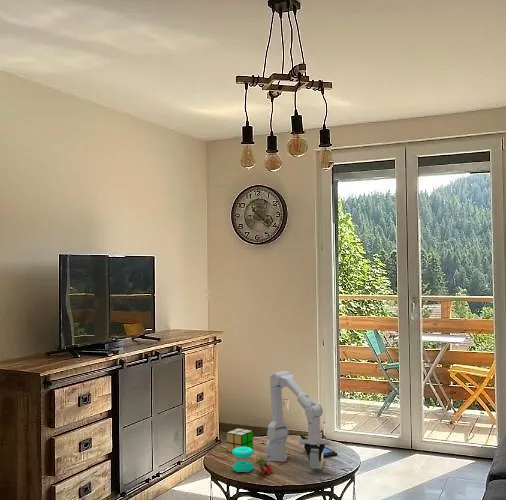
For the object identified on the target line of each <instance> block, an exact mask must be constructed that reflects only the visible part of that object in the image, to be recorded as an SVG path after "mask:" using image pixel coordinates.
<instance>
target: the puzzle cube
mask: <svg viewBox="0 0 506 500" xmlns="http://www.w3.org/2000/svg"><path fill="white" fill-rule="evenodd" d="M253 436H254V433H253V430H249V429H244V428H238V427H237V428H235V429H232V430H230V431H228V432H226V451H227V450H229V451H233V449H234V448H237V447H250V448H252V449H253V450H254V441H253V440H254V437H253Z"/></svg>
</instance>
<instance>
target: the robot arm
mask: <svg viewBox="0 0 506 500" xmlns="http://www.w3.org/2000/svg"><path fill="white" fill-rule="evenodd" d="M269 383H270V385H269V387H270V388H269V389H270V403H271V422H270V423H269V424H268V425H267V432H266V436H267V441H266V445H265V450H266V453H265V456H266V459H265V460H266V461H267V462H286V461H287V458H288V455H287V454H286V453H287V452H286V442H287V438H288V437H289V434H290V431H289V428H288V424H287V423H286V422H285V421H284V416H283V415H284V413H283V411H284V410H283V399H282V398H283V396H282V389H284V388H285V387H287V388H288V389H289V390H290V391H291V392H292V393H293V395H295V396H296V398H297V399H296V401H297V402H298V403H299V405H300V406H301V407H302V409H303V410H304V413H305V414H304V416H305V418H306V421H307V434H308V435H307V438H308V439H302V438H301V439H300V438H299V440H298V446H299V445H300V446H301V445H303V447H304V449H305V451H306V455H307V458H308V461H309V462H310V451H311V445H317V446H319V461H321V456H322V452H323V450H324V447H326V446H328V447H330V446H331V440H330V439H329V440H328V439H321V438H322V437H321V436H322V435H321V434H322V433H321V416H322V415H323V413H324V411H323V407H322V405H321V404H319V403H317V402H315V401H314V400H313V399H312V397H310V395H309V394H308V393H307V392H303V390H302V389H301V388H300V386H299V385H298V383H297V382H296V380H295V375H294V374H293V372H292V371H290V370H284V371H279V372H273V373H271V374H270V376H269ZM267 459H268V460H267Z"/></svg>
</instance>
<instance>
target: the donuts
mask: <svg viewBox="0 0 506 500" xmlns="http://www.w3.org/2000/svg"><path fill="white" fill-rule="evenodd" d="M231 454H232V456H233V457H235V458H236V459H248V458H250V457H252V456H253V454H254V448H253V449H252V448H250V447H237V448H234V449H233V451H232V453H231ZM253 470H254V464H253V463H252V462H251V461H249V460H238V461H236V462H234V463H233V465H232V471H234V472H235V471H236V472H235V473H238V472H247V473H249V472H252V471H253Z"/></svg>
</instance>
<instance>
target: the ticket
mask: <svg viewBox="0 0 506 500" xmlns="http://www.w3.org/2000/svg"><path fill="white" fill-rule="evenodd" d="M324 462H325V458H324V456H323V452H322V456H321V461H320V464H319V467H310V468H311V469H320V470H321V469H323V465H324Z"/></svg>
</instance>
